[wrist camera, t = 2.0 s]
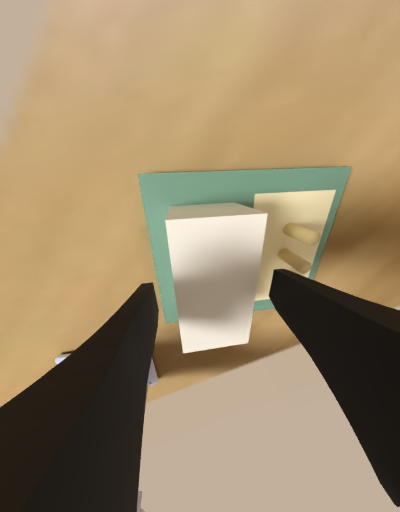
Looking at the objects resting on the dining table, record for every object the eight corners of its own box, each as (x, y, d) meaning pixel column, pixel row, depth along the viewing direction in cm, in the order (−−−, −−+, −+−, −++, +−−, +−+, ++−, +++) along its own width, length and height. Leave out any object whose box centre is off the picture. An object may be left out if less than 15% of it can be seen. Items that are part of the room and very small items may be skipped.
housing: (181, 305, 14) (183, 353, 10) (169, 206, 10) (165, 220, 6) (228, 299, 15) (248, 342, 11) (234, 202, 11) (267, 213, 7)
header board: (166, 314, 16) (163, 349, 13) (141, 174, 11) (124, 170, 7) (297, 296, 18) (325, 323, 14) (336, 168, 12) (398, 162, 9)
